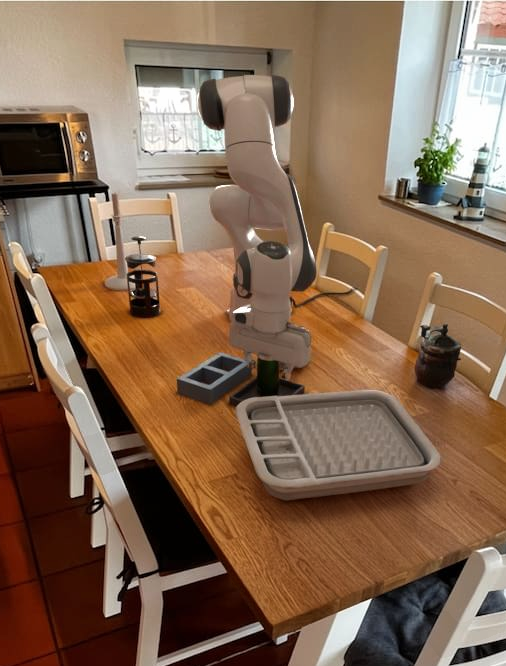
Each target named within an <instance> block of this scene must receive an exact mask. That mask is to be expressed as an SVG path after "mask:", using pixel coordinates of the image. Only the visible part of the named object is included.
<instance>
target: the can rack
mask: <svg viewBox="0 0 506 666" xmlns="http://www.w3.org/2000/svg"><path fill="white" fill-rule="evenodd" d="M252 376H253V369H251V368H248V367H247V360H246V359H245V358H241V357H237V356H236V355H231V354H228V353H225V352H222V351H219V352H217V353H216V354H215V355H213V356H211V357H209V358H208V359H207V360H205V361H203V362H202V363H200V364H198V365H197V366H195V367H193V368H192V369H190V370H188V371H187V372H185V373H184V374H182V375H180V376H178V377H176V387H177V388H176V390H177V394H180V395H182V396H185V397H188V398H191V399H194V400H196V401H199V402H202V403H205V404H208V405H213V404H214V403H215V402H217V401H218V400H220V399H221V398H222V397H224V396H225V395H227V394H228V393H230V392H231V391H232V390H233V389H235V388H237V387H238V386H239V385H241V384H242V383H244V382H245V381H246V380H248V379H249V378H250V377H252Z"/></svg>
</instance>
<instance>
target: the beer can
mask: <svg viewBox="0 0 506 666" xmlns="http://www.w3.org/2000/svg"><path fill="white" fill-rule="evenodd" d="M280 372H281V370H280V361H277V360H273V359H272V356H268V355H266V354H263V353H262V354H261V353H260V352H259V354H258V355H257V354H256V377H257V391H256V394H257V397H267V396H278V395H279V378H280V374H281V373H280Z"/></svg>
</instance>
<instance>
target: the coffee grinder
mask: <svg viewBox="0 0 506 666" xmlns="http://www.w3.org/2000/svg"><path fill="white" fill-rule="evenodd" d="M448 326H449V323H447V322H444V323H443V324H442V326H433V327H431V326H429V325H427V324H421V325H419V327H420V328H421V332H420V337H421V338H422V339H421V340H420V349H419V353H418V355H417V358H416V361H415V364H414V373H415V376H416V378H417V380H418V382H419V383H420V384H422V385H426V387H428V388H429V389H430V388H431V389H432V388H439V389H441V388H445V386H446V385H448V384H449V382H450V381H452V380H453V379H454V378H455V375H456V374H455V373H456V369H457V367H458V366H457V364H458V361H461V360H462V358H461V357H460V353H461V350H462V343H461V342H460V341H459V339H457V338H455V337H453V336H451V335H450V334H448V332H449V329H448ZM433 332H436V333H433ZM437 332H438V333H437Z"/></svg>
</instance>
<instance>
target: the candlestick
mask: <svg viewBox="0 0 506 666" xmlns="http://www.w3.org/2000/svg"><path fill="white" fill-rule="evenodd" d="M111 201H112V211H113V214H111V217H112V218H113V219H112V221H113V222H114V224H115V226H114V229H115V231H114V232H115V247H116V248H115V250H116V268H117V269H116V271H117V274H116V275H112V276H109V277H107V279H106V280H105V281H104V287H106V288H107V289H109V290H113V291H125V292H126V291H128V284H127V273H128V272H129V269H128V268H129V267H127V262H126V261H125V257H127V256H126V248H125V242H124V241H125V240H124V234H123V229H122V228H123V227H122V225H121V224H122V221H123V220H122V217H123V216H124V215H123V214H121V210H120V199H119V193H117V192H113V193H111ZM130 278H133V279H135V278H134V275H133V276H130ZM129 286H130V291H131V290H133V289H136V288H135V283H132V282H129Z"/></svg>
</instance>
